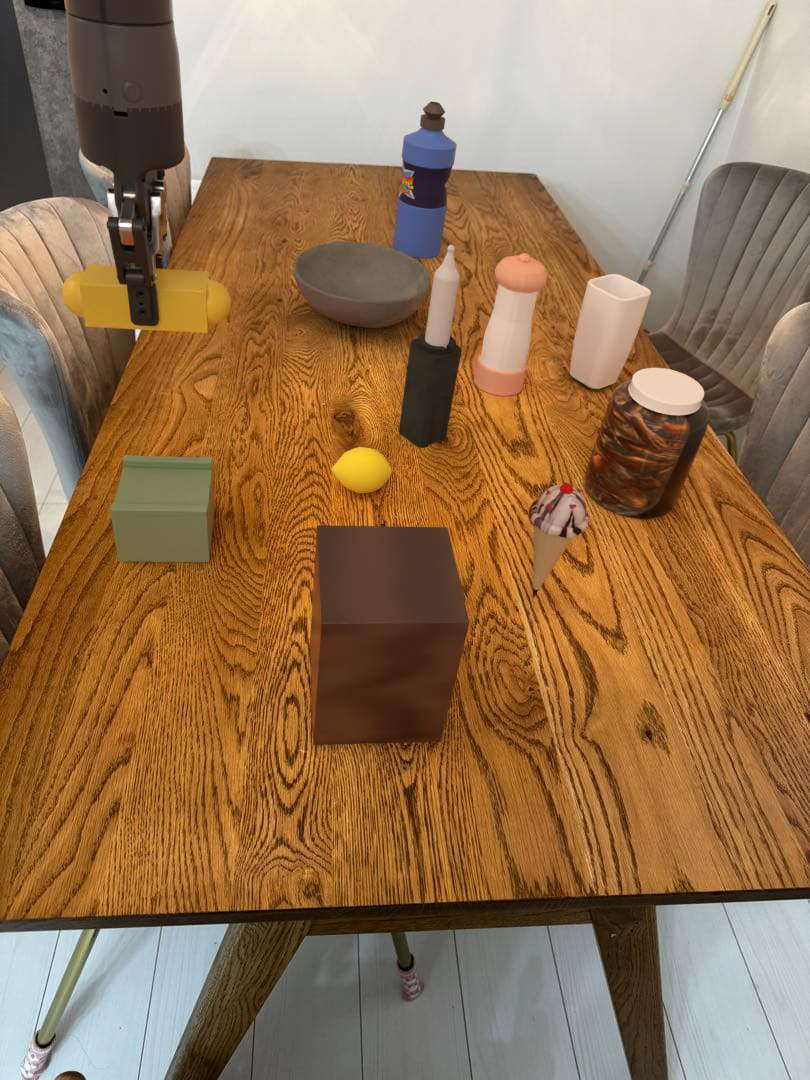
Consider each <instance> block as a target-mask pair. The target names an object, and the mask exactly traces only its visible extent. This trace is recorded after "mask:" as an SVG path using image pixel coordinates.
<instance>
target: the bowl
mask: <svg viewBox="0 0 810 1080" xmlns="http://www.w3.org/2000/svg"><path fill="white" fill-rule="evenodd" d="M292 267H293V268H292V269H293V270H292V272H293V277H294V281H295V283H296V285H297V287H298V290H299V291H300V293H301V295H302V297H304V299H305V301H306V302H307V303H308V304H309V305H310V306H311V308H313V309H314V310H315V311H316V312H317V313H319V314H320V315H322V316H323V317H325V318H328V319H329V320H330V321H331V320H332V321H333V322H337V323H339V324H342V325H346V326H353V327H358V328H366V329H383V328H387V327H392V326H394V325H398V324H399V323H401V322H403V321H404V320H406V319H408V318H409V317H410V316H411V315H413V314H414V313H415V312H417V310H419V308H420V307H421V306H422V304H423V303H424V301H425V300H426V299H427V296H428V294H429V292H430V288H431V276H430V273H429V270H428V269H427V267H426V266H425V265H424V264H423V263H422V262H420V261H419V260H418V259H416V257H411V256H409V255H407V254H405V253H403V252H401V251H398V250H395V249H394V248H393V247H389V246H385V245H381V244H376V243H375V244H374V243H369V242H358V241H346V240H345V241H332V242H326V243H322V244H318V245H314V246H311V247H309V248H307V249H305V250H303V251H302V252H301V253H300V254H298V256H297V257H296V258H295V260H294V263H293V265H292Z"/></svg>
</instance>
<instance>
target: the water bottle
mask: <svg viewBox="0 0 810 1080" xmlns="http://www.w3.org/2000/svg"><path fill="white" fill-rule="evenodd" d="M422 111H423V112H424V114H421V115H420V121H419V126H420V128H419V129H418V130H416V131H414V132H411V133H408V134H406V135H404V136H403V139H402V140H403V141H402V150H401V159H402V163H401V164H402V165H401V166H402V171H401V172H402V178H401V179H402V180H401V181H402V182H401V185H400V189H399V194H398V197H397V203H396V205H397V206H396V214H395V223H394V231H393V232H394V233H393V240H392V241H393V243H392V248H393V249H395V250H398V251H401V252H403V253H405V254H407V255H409V256H411V257H413V258H418V259H430V258H434V257H437V256H439V255H440V253H441V249H442V242H443V235H444V228H445V221H446V215H447V208H448V186H449V181H450V177H451V174H452V171H453V170H452V169H453V166H454V165H455V160H456V159H455V158H456V152H457V142H456V141H454V140H453V139H452V138H450V137H449V136H447V134H445V132H444V130H445V127H446V125H445V124H446V117H444V114H446V111H445V109H444V108H443V106H442V105H441V103H440V102H437V101H430V102H428V103H427V104H426V105H424V107H423V108H422Z"/></svg>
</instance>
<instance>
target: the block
mask: <svg viewBox="0 0 810 1080" xmlns="http://www.w3.org/2000/svg"><path fill="white" fill-rule="evenodd" d="M213 461H214V460H213V457H207V456H206V457H202V456H201V457H200V456H169V455H167V456H166V455H135V454H134V455H133V454H123V457H122V471H121V474H120V478H119V483H118V487H117V490H116V494H115V498H114V502H113V503H111V504H110V508H109V511H110V519H111V525H112V531H113V537H114V544H115V550H116V557H117V562H119V563H120V562H121V563H123V562H124V563H128V562H129V563H210V561H211V560H210V559H211V551H212V540H213V530H214V520H215V508H216V503H215V502H216V501H215V482H214V463H213Z"/></svg>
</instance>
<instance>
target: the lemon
mask: <svg viewBox="0 0 810 1080" xmlns="http://www.w3.org/2000/svg"><path fill="white" fill-rule="evenodd" d="M331 472H332V473H333V475H334V476H335V477H336V479H337V480H338V481H339V482H340V484H341V485H342V486H343V487H345V488H346V489H347V490H350V491H352V492H354V493H356V494H358V495H359V494H368V493H369V494H370V493H374V492H376V491H378V490H380V489H382V488H383V487H384V485H385V484H386V483H387V482H388V480H389V479H390V477H391V476H392V473H393V469H392V467H391V465H390V463H389V461H388V460H387V458H386V457H385V455H384V454H382V453H381V452H380V451H379V450H377V449H376V448H372V447H371V448H370V447H363V446H358V447H355V448H351V449H349V450H347V451H345V452H343V453H342V454H341V456H340V457H339V459H338V460H337V461H336V462H335V464H334V465H333V466H332V467H331Z"/></svg>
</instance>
